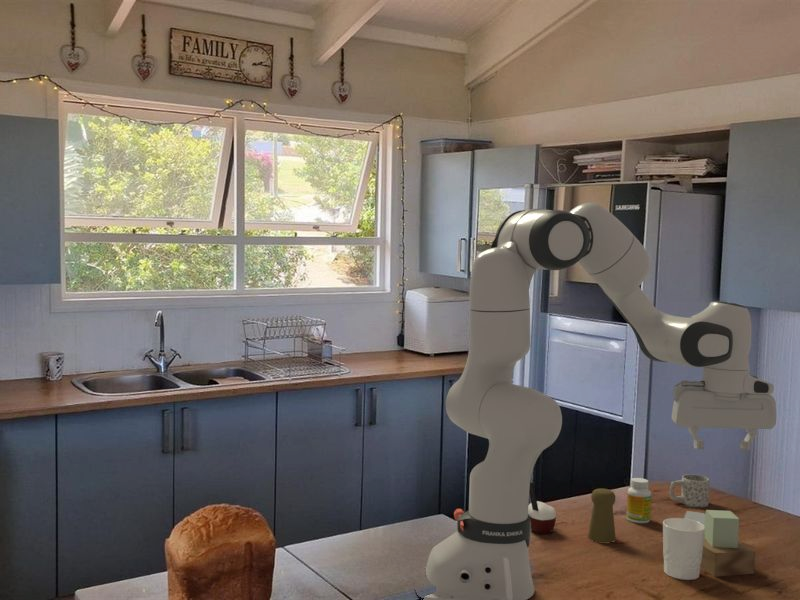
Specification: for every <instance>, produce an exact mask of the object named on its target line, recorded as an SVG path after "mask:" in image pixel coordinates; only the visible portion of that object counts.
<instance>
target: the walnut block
mask: <svg viewBox="0 0 800 600" xmlns="http://www.w3.org/2000/svg"><path fill="white" fill-rule="evenodd" d="M704 537H705V536H704ZM755 561H756V550H755V549H753V548H751V547H750V546H748V545H747V544H744V543H743V542H741V541H739V540H738V548H725V547H712V546H711V545H710V544H709V543H708V542H707V541H706V539H705V538H704V543H703V553H702V559H701V564H700V569H702V570H703V571H705V572H706V571H707V572H706V573H708V574H709V573H710V575H711V576H713V577H727V576H737V575H738V576H739V575H750V574H751V575H752V574H755V565H756V563H755Z"/></svg>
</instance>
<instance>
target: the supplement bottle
mask: <svg viewBox="0 0 800 600" xmlns="http://www.w3.org/2000/svg"><path fill="white" fill-rule="evenodd" d="M649 484H650V483H649V480H648V479H646V478H643V477H633V478H630V486H631V487H628V489H627V495H626V496H627V497H626V498H627V500H626V501H627V502H626V519H627V521H628V522H631V523H634V522H635V523H636V524H648V523H650V520H651V510H652V509H651V507H652V505H651V504H652V503H651V502H652V491H651V489H649ZM635 523H634V524H635Z"/></svg>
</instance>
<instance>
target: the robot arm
mask: <svg viewBox="0 0 800 600" xmlns="http://www.w3.org/2000/svg"><path fill="white" fill-rule="evenodd" d="M490 246H491V247H490V248H488V249H485V250H484V251H481V252H480V253H478V254H477V256H476V257H475V258H474V260H473V264H472V269H471V274H470V282H469V283H470V284H469V295H468V296H469V297H468V298H469V299H468V304H469V305H468V309H469V311H468V312H469V313H468V314H469V316H468V317H469V338H468V339H469V345H468V346H469V347H468V355H467V359H466V363H465V366H464V369H463V371H462V374H461V376H460V377H459V379H458V380H457V381H456V382H454V383H453V385H451V387H450V388H449V389H448V392H447V395H446V398H445V412H446V415H447V417H448V418H449V420H450V422H452V423H453V424H454V425H456V426H457V427H459V428H460V429H461V430H463V431H464V432H466V433H468V434H471V435H475V436H477V437H481V438H484V439H488V450H487V454H486V455H485V458H484V460H482V461H481V462H480V463H478V464H475V466H474V467H473V468H472V469H471V472H470V474H469V491H468V493H469V494H468V510H467V511H464V510H463V509H462V508H456V509H455V510H454V512H453V516H454V520H455V521H456V522H457V524H456V525H457V526H456V527H457V528H456V529H457V530H456V531H455V532H454V533H452V534H451V535H450V536H448V537H447V538H445V539H443V540H442V541H440V542H439V543H437V544H436V545H434V546H433V548H432V549H431V551H430V552H429V555H428V559H427V561H426V562H427V563H426V567H425V568H426V575H427V578H428V580H429V581H430V582H431V583H432V584H433V585H435V586H436V592H435V593H433V594H430V595H427V596H425V597H424V599H423V600H528V599H530V598H532V596H533V595H534V594H535V585H534V582H533V578H532V573H531V564H530V558H529V547H530V543H531V542H530V541H531V535H532V534H531V533H532V532H531V530H532V529H531V522H530V517H529V514H528V506H529V505H530V503H529V502H530V501H529V500H530V494H529V488H530V482H531V477H532V474H533V469H534V467H535V464H536V462H537V460H538V458H539V457H540V455H541V454H542V452H543V451H544V450H546V449H547V448H549V447H550V446H552V444H554V443H555V442H556V441H557V439H558V437H559V435H560V433H561V430H562V425H563V415H562V411H561V407H560V405H559V403H558V402H557V401H556V400H555V399H554V398H553V397H550V396H549V395H547V394H545V393H543V392H541V391H539V390H537V389H535V388H531V387H527V386H523V385H518V384H514V383H513V381H512V379H513V373H514V369H515V366H516V364H517V362H518V361H521V360H522V359H524V357H526V356H527V354H528V353H529V351H530V350H531V349H530V348H531V306H530V305H531V304H530V303H531V300H530V298H531V297H530V287H531V281H532V279H533V276H534V274H535V273H536V271H537V270H541V271H543V270H550V271H560V270H565V269H568V268H570V267H572V266H574V265H576V264H577V263H579V265H580V266H581V267H582V268H583V270H585V272H586V273H587V274H588V275H589V276H590V277H591V278H592V279H593V280H594V281H595V282H596V283H597V285H599V287H600V288H601V290H602V291H603V292H604V294H605V296H606V298H608V300H609V301H610V302H611V304H612V305H613V306H614V307H615V309H616V310H617V311H618V313H619V314H620V315H621V316H622V318H623V319H624V321H626V323H627V324H628V326H629V327H630V328H631V329H632V331H633V333H634V335H635V338H636V341H637V345H638V346H639V348H640V350H641V352H642V353H643V355H644V356H645V357H646V358H648V359H649V360H651V361H653V362H659V363H669V364H674V365H675V364H676V365H679V366H686V367H690V368H702V377H701V380H691V381H689V380H682V381H680V382H678V383H676V384H675V385H674V387H673V393H672V396H673V405H672V410H671V421H672V422H673V423H674V424H675V425H676V426H678V427H682V428H688V432H689V434H690V436H691V437H692V438H693V448H694V449H696V450H704V448H705V446H704V445H705V440H703V439H701V438H699V435H698V433H700V428H710V429H711V428H713V429H714V428H715V429H744V430H745V432H746V436H745V437H744V439H741V440H739V449H740V450H741V451H750V450H751V444H752V442H753V440H754V439H755V437H756V436H757V435H758V430H772V429H774V428H775V426H776V424H777V403H776V399H775V397H774V396H773V395H772V394H773V393H774V390H775V386H774V384H773V383H771V382H769V381H767V380H764V379H762V378H759V377H758V376H754V375H752V374H750V372H751V371H750V370H751V368H750V367H751V366H750V363H749V362H750V361H749V354H750V351H751V348H752V319H751V314H750V312H749V310H748V308H747V307H745V306H744V305H742V304H738V303H734V302H728V301H721V300H720V301H719V300H715V301H711V302H709V304H708V306H707V307H706V308H704V310H701V311H700V312H698V313H696V314H694V315H691V316H690V317H685V316H677V315H672V314H669V313H666V312H663V311H661V310H660V309H657V307H655V305H654V304H653V303H652V301H651V300H650V298H648V296H647V295H646V293H645V292H644V291H643V290H642V288H641V287H640V286H641V285H642V284H643V282H645V280H646V278H647V276H648V274H649V271H650V266H651V258H650V256H649V254H648V252H647V250H646V248H645V247H644V246H643V244H642V242H641V241H640V239H638V238H637V237H636V236H635V235H634V234H633V233H632V232H631V230H630V229H629V228H628V227H627V226H626V225H625V224H624V223H623V222H622V221H621V220H619V219H618V218H617V217H616V216H615V215H614V214H613V213H612V212H610V211H609V210H607V209H606V208H604V207H603V206H601V205H600V204H599V203H596V202H585V203H581V204H579V205H577V206H574V208H572V209H570V211H565V210H561V209H553V210H551V209H545V208H533V209H526V210H524V209H523V210H517V211H515V212H513V213H510V214H508V216H506V217H505V218H503V220H502V221H501V222H500V224H499V225H498V227H497V230H496V233H495V237H494V240H492V243H491V245H490Z"/></svg>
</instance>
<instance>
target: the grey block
mask: <svg viewBox="0 0 800 600" xmlns="http://www.w3.org/2000/svg"><path fill="white" fill-rule="evenodd" d="M705 516H706V512H705V513H704V512H697V511H691V510H690V511H689V510H686V512H685V513H684V517H683V518H684V519H690V520H694V521H697V522H699V523H701V524H703V525H704V526H705ZM704 536H705V532H704Z"/></svg>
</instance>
